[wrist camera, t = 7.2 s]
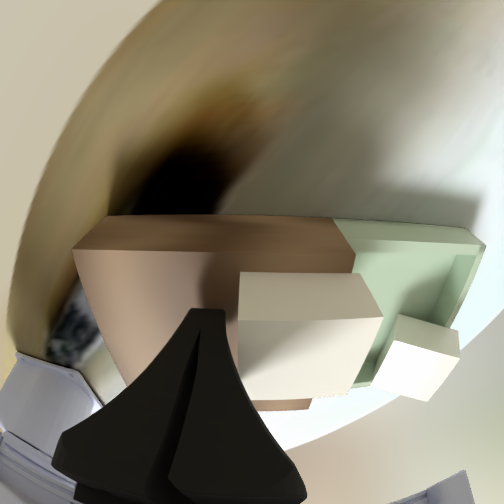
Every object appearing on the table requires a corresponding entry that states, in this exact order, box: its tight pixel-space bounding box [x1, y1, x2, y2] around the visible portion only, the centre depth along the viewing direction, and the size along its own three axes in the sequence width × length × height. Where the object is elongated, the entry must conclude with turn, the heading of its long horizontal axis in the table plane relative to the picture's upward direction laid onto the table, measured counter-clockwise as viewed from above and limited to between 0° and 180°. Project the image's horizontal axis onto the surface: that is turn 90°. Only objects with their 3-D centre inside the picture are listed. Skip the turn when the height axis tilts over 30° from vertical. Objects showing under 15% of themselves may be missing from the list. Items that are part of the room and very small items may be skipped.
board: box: [71, 215, 356, 411], centre depth 14 cm, size 11×11×4 cm
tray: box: [332, 218, 486, 389], centre depth 14 cm, size 9×11×2 cm
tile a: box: [370, 314, 460, 401], centre depth 14 cm, size 4×4×2 cm
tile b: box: [238, 272, 384, 400], centre depth 10 cm, size 4×4×2 cm
